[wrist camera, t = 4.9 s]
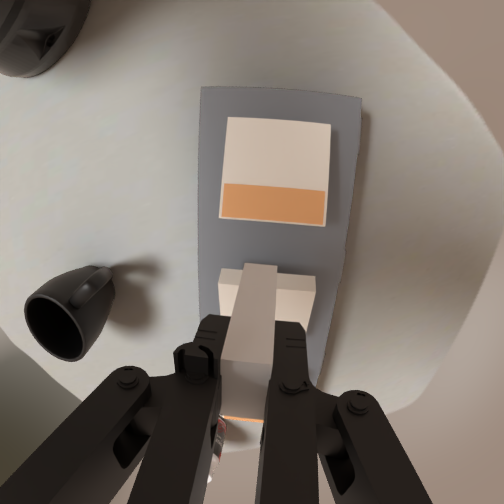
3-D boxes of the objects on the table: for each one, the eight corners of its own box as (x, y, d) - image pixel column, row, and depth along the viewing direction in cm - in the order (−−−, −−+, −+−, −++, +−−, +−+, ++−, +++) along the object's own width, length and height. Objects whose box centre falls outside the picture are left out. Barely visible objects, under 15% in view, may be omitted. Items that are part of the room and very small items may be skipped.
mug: (158, 278, 34) (122, 328, 25) (101, 325, 38) (65, 371, 29) (109, 221, 32) (58, 255, 23) (59, 278, 36) (14, 316, 27)
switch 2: (223, 261, 25) (217, 284, 23) (314, 268, 24) (315, 292, 22) (226, 317, 29) (222, 339, 28) (302, 324, 29) (302, 346, 27)
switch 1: (232, 127, 23) (227, 116, 21) (325, 134, 23) (331, 123, 20) (224, 219, 24) (218, 218, 21) (320, 226, 23) (325, 226, 21)
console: (214, 92, 26) (199, 85, 21) (352, 102, 25) (367, 98, 20) (212, 384, 39) (204, 415, 34) (307, 392, 38) (308, 425, 33)
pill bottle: (231, 432, 43) (221, 486, 34) (197, 433, 44) (183, 484, 35) (219, 409, 41) (206, 466, 32) (183, 411, 42) (165, 464, 33)
